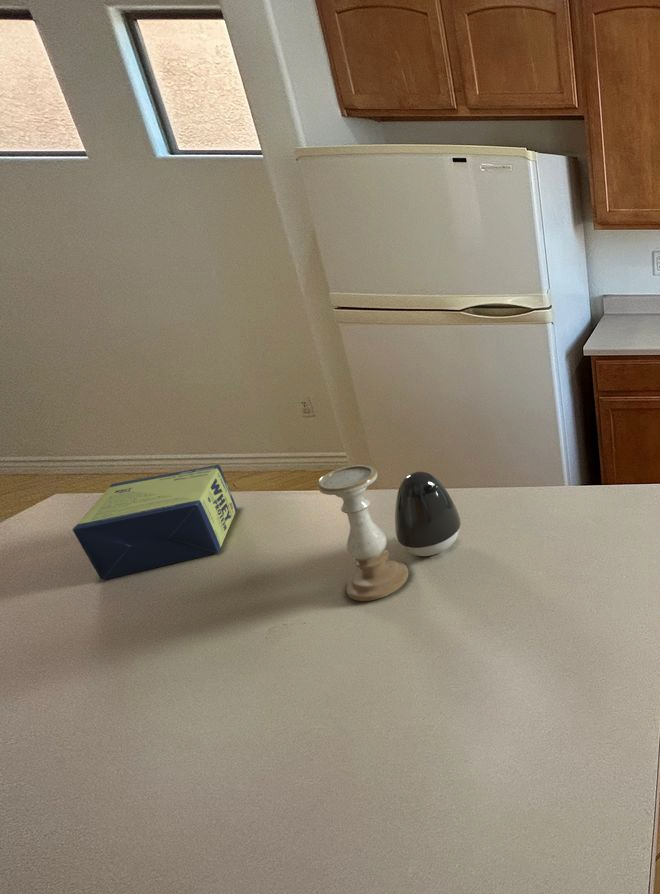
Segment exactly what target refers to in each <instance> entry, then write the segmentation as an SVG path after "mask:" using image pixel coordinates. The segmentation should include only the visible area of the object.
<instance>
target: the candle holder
mask: <svg viewBox="0 0 660 894" xmlns="http://www.w3.org/2000/svg"><path fill="white" fill-rule="evenodd" d="M377 479H378V471H377V470H376V467H375V468H374V467H373V466H371V465H367V464H353V465H347V466H344V467H339V468H336V469H334V470H331V471H329V472H327V473H326V474H324V475H323V476H321V477H320V478H319V480H318V482H317V490H318V491H319V492H320V493H321V494H323V495H329V496H336V497H338V498H340V499H341V500H342V501H343V503H342V505H341V507H340V510H341V512H342V513H344V514H346V516H347V519H348V522H349V532H348V537H347V540H346V550H347V553H348V554H349V556H350V557H352V558H354V561H353V564H354V566H355V567H356V568H357V569H358V570H357V571H355V572H354V574H353V575H352V576H351V577H350V578H349V580H348V581H347V582H346V587H345V588H346V589H345V590H346V593H347V595H348V596H349V598H351V599H352V600H355V601H359V602H370V601H375V600H379V599H382V598H385V597H388V596H389V595H391V594H393V593H395V592H396V591H398V590H399V589H400V588H402V587H403V586H404V585H405V584H406V582H407V580H408V578H409V569H408V567H407V565H406V564H404V563H403V562H401V561H398V560H397V561H396V560H392V559H388V558H389V555H390V554H389V551H388V550H387V548H386V546H387V544H388V538H387V535H386V534H385V532H384V531H383V530H382V529H381V528H380V527H379V526H378V525H377V524H376V523H375V522H374V520H373V519H372V517H371V515H370V511H369V507H370V506H371V500H370V499H368V498H367V497H366V496H365V494H364V492H365V491H366V490H367V488H368V487H369V486H371V484H373V483H374V482H375V481H376V480H377Z"/></svg>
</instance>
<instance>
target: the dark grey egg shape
mask: <svg viewBox="0 0 660 894" xmlns="http://www.w3.org/2000/svg"><path fill="white" fill-rule="evenodd" d="M461 524H462V523H461V517H460V514H459V512H458V509H457V506H456V504H455V502H454V501H453V499H452V497H451V496H450V494H449V492H448V491H447V489H446V488H445V486H444V485H443V484H442V482H441V481H440V480H439V479H438V478H437V477H435V476H434V475H433V474H432V473H430V472H428V471H422V470H419V471H413V472H411V473H409V474H408V475H406V476H405V477H404V478H403V479H402V481H401V483H400V485H399V488H398V489H397V494H396V499H395V507H394V528H395V529H394V530H395V536H396V540H397V542H398V543H399V544H400V545H401V546H402V547H403V548H404V549H405V550H406V551H407V552H409V553H410V554H412V555H414V556H419V557H428V556H429V557H430V556H434V555H437V554H440V553H442V552H444V551H446V550H447V549H449V548H450V547H451V546H452V545H453V544H454V543H455V541H456V539H457V538H458V535H459V532H460V529H461Z"/></svg>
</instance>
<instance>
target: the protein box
mask: <svg viewBox="0 0 660 894" xmlns="http://www.w3.org/2000/svg"><path fill="white" fill-rule="evenodd" d="M225 477H226V476H224V472H223V470H222V468H221V465H220V464H215V465H209V466H203V467H199V468H192V469H189V470H188V469H187V470H182V471H176V472H171V473H166V474H159V475H154V476H148V477H142V478H137V479H131V480H125V481H119V482H115V483H111V484H110V486H109V487H107V489H106V490H105V491H104V492H103V494H101V496H100V497H99V498H98V499H97V501H96V502H95V503H94V504H93V505H92V506H91V508H89V510H88V511H87V512H86V513H85V514H84V516H82V518H81V519H80V520H79V521H78V523H77V524H76V525H75V526H73V528H72V532H73V533H74V535H75V537H76V538H77V541H78V543H79V544H80V546H81V547H82V550H83V551H84V553H85V554H86V556H87V558H88V560H89V562H90V564H91V565H92V567H93V569H94V570H95V572H96V574H97V576H98V578H99V579H100V580H101V581H105V580H110V579H114V578H118V577H123V576H125V575H126V576H127V575H130V574H131V575H132V574H134V573H138V572H143V571H147V570H152V569H156V568H160V567H164V566H168V565H174V564H177V563H181V562H186V561H189V560H193V559H197V558H201V557H207V556H211V555H216V554H219V553H220V550H221V548H222V545H223V543H224V541H225V538H226V536H227V534H228V531H229V529H230V526H231V524H232V522H233V519H234V517H235V515H236V512H237V510H238V507H237V504H236V502H235V500H234V497H233V495H232V492H231V490H230V488H229V485H228V483H227V480H226V478H225ZM230 493H231V494H230Z"/></svg>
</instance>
